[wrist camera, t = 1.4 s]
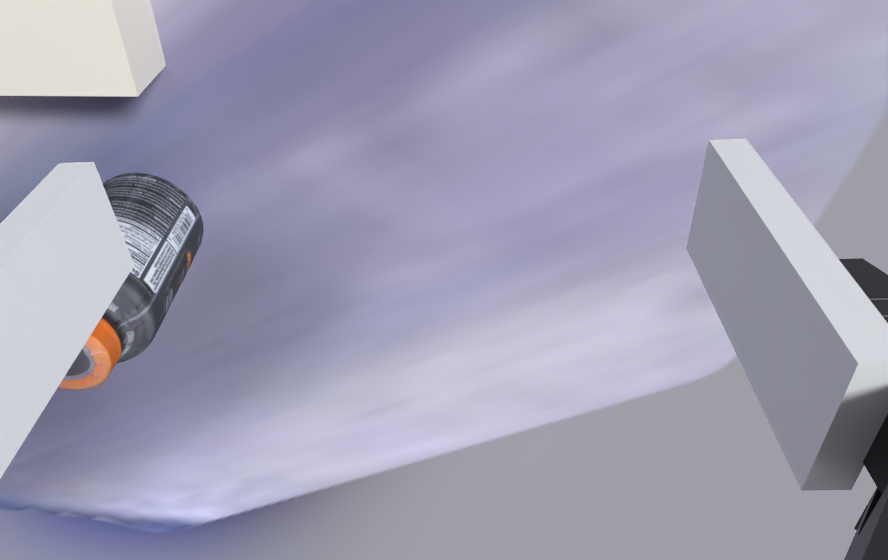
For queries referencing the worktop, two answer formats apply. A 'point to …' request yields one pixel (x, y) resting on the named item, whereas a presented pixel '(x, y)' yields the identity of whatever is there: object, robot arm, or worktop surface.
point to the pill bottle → (140, 272)
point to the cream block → (78, 47)
